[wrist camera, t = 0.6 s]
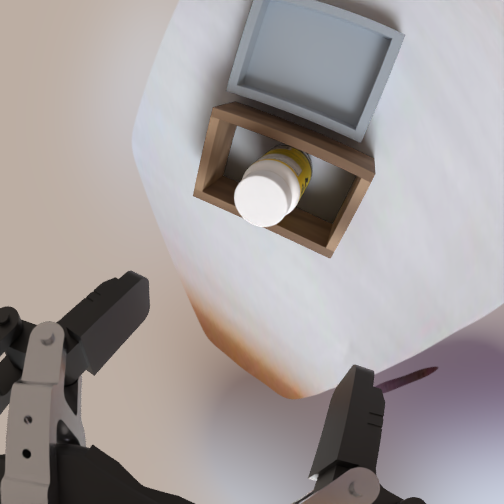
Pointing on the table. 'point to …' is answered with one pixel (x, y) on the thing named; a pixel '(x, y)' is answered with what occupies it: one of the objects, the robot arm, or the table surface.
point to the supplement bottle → (273, 185)
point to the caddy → (236, 114)
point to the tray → (315, 62)
